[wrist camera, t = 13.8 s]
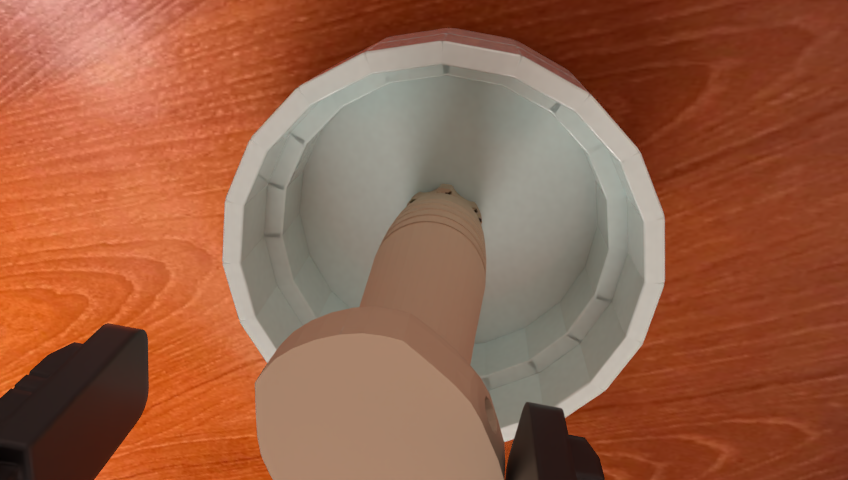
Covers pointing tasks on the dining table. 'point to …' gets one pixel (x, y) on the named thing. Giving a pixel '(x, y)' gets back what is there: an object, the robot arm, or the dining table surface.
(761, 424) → the dining table surface
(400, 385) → the handle
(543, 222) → the mixing bowl
